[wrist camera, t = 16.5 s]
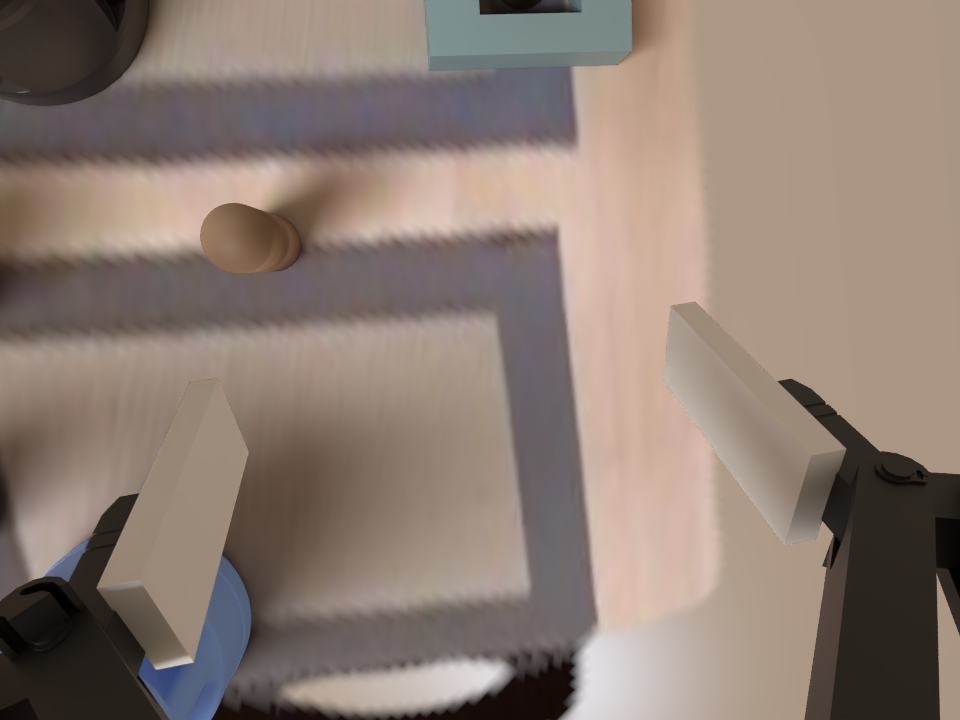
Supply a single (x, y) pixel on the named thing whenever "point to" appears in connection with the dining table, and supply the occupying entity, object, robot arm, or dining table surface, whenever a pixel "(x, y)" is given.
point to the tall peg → (521, 3)
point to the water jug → (221, 647)
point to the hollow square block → (527, 36)
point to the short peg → (249, 240)
